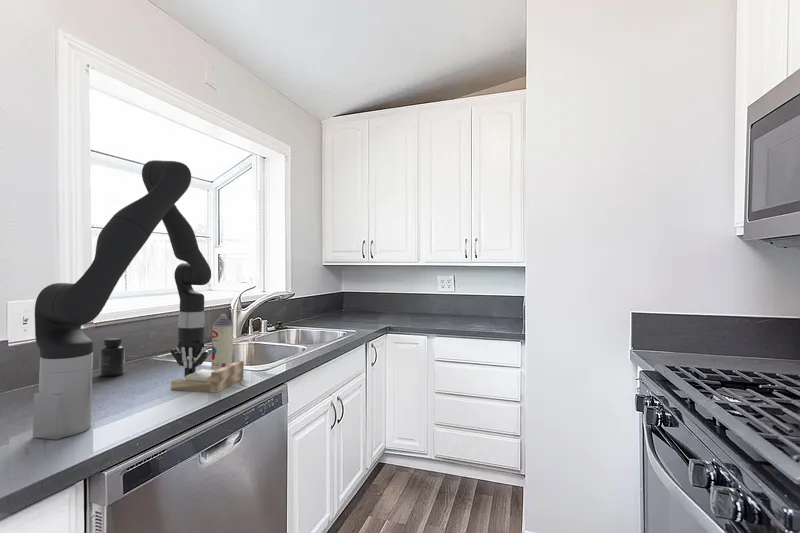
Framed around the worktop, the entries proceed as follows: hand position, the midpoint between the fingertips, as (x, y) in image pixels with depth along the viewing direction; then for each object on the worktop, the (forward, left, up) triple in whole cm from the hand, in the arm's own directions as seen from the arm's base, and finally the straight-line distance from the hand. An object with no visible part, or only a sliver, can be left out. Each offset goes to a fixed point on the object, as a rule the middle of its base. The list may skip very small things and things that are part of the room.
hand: (189, 379), depth 129 cm
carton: (-1, -6, -2) cm, 6 cm away
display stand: (0, -7, -1) cm, 7 cm away
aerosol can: (+16, -1, -1) cm, 16 cm away
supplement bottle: (+2, +30, -1) cm, 30 cm away
